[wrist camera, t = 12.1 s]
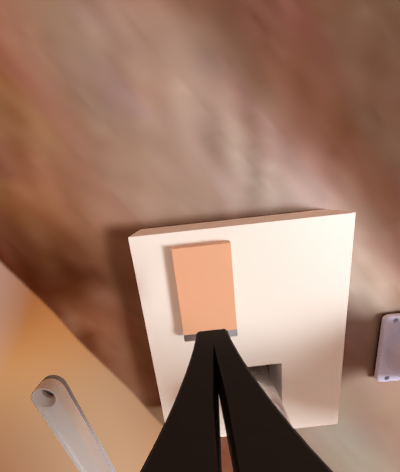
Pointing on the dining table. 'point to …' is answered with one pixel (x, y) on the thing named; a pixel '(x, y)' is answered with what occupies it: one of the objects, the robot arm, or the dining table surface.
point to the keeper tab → (205, 287)
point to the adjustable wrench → (70, 425)
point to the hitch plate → (261, 304)
